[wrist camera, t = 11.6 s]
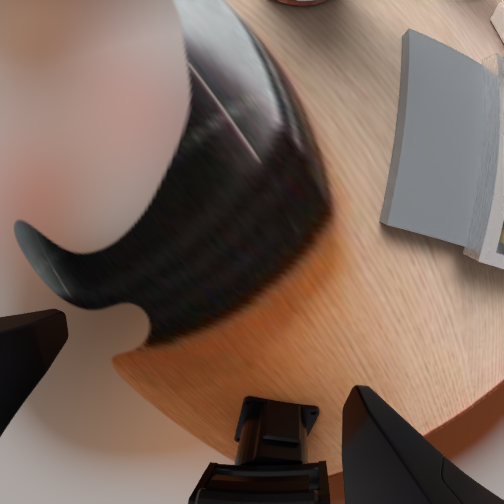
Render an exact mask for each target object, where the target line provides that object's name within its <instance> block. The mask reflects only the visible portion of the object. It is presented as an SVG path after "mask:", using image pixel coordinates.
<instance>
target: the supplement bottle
mask: <svg viewBox="0 0 504 504" xmlns="http://www.w3.org/2000/svg"><path fill="white" fill-rule="evenodd" d="M276 1H278V2H281V3H285V4H290V5H296V6H297V5H298V6H309V5H315V4H320V3H322V2H324V1H327V0H276Z"/></svg>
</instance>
